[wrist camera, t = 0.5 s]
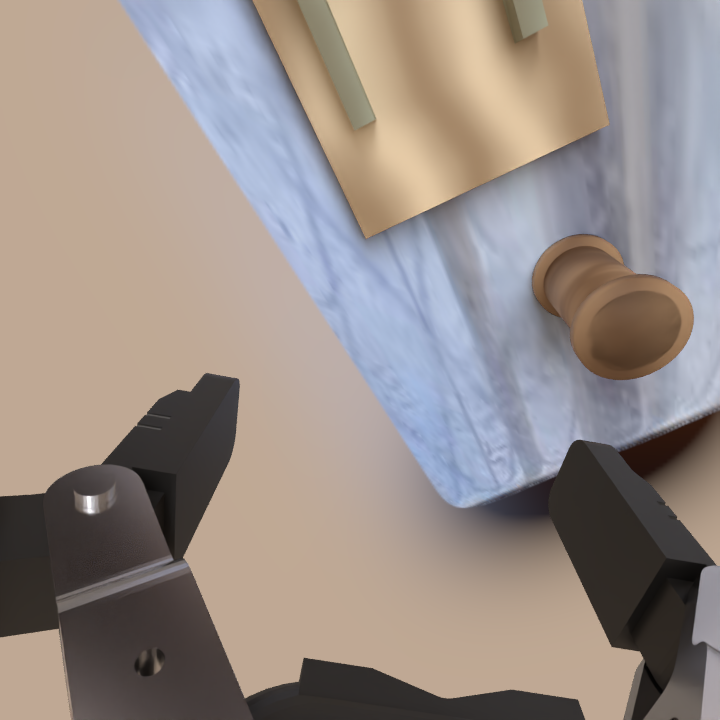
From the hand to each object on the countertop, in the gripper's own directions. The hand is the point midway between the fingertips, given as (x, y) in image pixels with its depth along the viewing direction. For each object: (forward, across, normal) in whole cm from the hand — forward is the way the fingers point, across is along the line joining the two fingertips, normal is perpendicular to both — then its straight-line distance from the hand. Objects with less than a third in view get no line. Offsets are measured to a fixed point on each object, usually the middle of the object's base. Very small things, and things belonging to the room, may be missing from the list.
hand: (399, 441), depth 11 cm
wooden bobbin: (+22, -13, -1) cm, 26 cm away
